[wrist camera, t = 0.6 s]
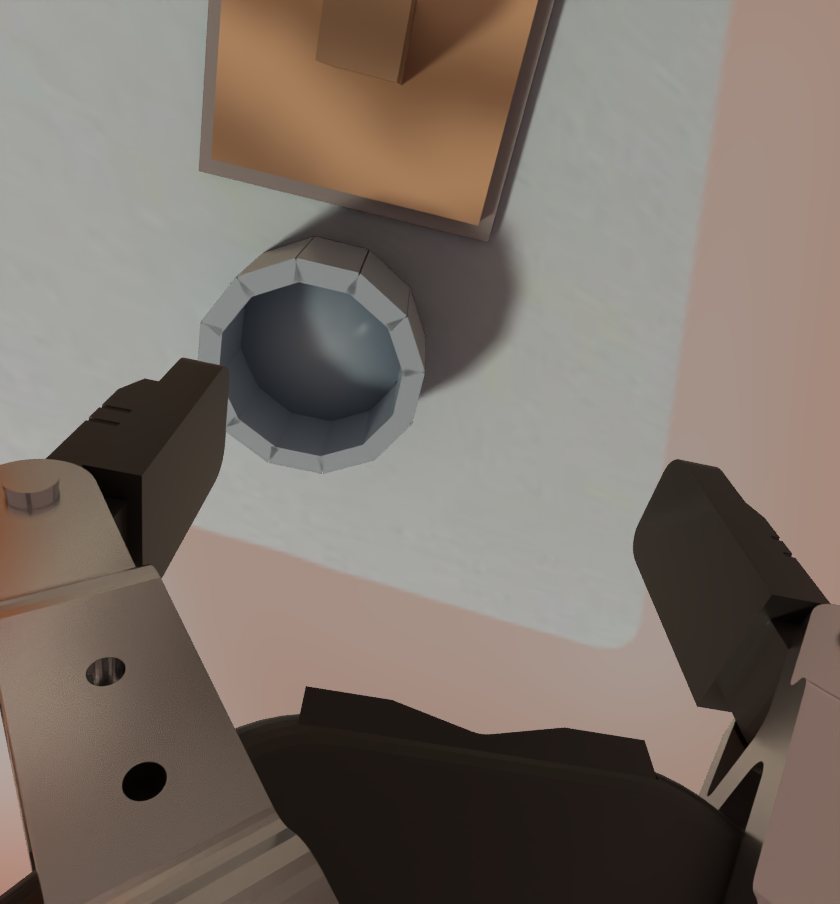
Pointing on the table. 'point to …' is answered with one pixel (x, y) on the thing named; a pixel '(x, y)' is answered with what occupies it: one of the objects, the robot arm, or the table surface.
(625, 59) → the table surface
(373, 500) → the table surface
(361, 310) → the bowl
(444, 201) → the lid
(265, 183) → the mat
